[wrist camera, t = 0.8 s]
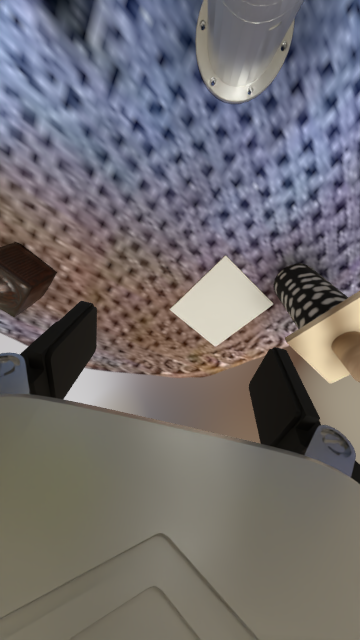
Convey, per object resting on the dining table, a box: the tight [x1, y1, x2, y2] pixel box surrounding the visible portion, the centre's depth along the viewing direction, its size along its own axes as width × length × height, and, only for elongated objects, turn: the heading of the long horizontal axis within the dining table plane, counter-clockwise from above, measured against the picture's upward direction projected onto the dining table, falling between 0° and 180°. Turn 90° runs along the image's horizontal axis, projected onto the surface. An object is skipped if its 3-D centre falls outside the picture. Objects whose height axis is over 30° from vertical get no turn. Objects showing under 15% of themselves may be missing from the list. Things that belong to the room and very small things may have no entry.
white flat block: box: [170, 255, 273, 347], centre depth 51 cm, size 18×16×1 cm
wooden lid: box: [285, 291, 360, 384], centre depth 27 cm, size 11×11×6 cm
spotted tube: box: [274, 264, 348, 329], centre depth 38 cm, size 8×8×20 cm
